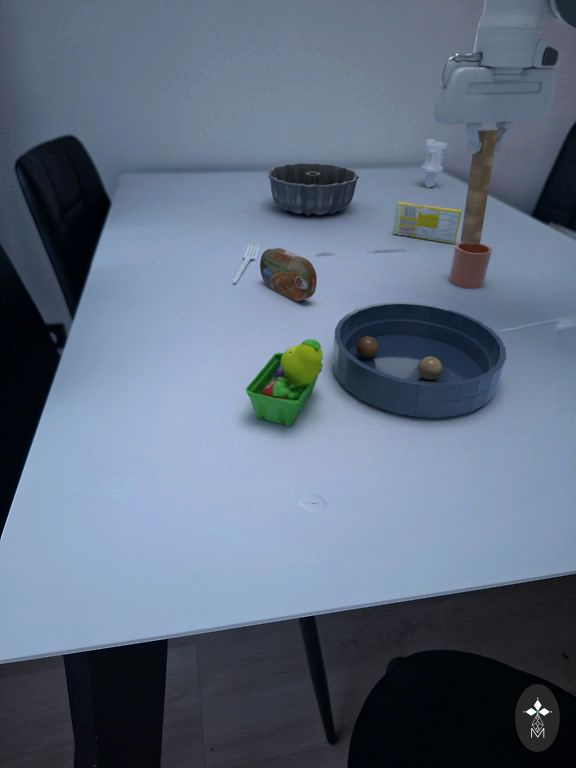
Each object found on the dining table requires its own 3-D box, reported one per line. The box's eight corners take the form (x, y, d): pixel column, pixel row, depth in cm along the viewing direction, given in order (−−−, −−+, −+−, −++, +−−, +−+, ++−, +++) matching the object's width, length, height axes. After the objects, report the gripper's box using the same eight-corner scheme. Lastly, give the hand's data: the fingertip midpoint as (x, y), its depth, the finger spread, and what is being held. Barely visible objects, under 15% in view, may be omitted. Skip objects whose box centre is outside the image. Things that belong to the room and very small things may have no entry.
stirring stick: (471, 240, 95) (487, 129, 86) (480, 243, 93) (498, 129, 84) (460, 241, 94) (475, 129, 86) (469, 244, 92) (485, 130, 84)
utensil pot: (468, 275, 118) (476, 240, 114) (490, 288, 113) (499, 251, 108) (441, 279, 116) (448, 244, 111) (462, 292, 110) (470, 255, 106)
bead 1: (364, 328, 86) (361, 342, 89) (353, 341, 84) (350, 356, 87) (384, 337, 85) (380, 352, 88) (373, 351, 83) (369, 366, 86)
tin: (258, 283, 112) (258, 244, 107) (270, 279, 114) (270, 241, 109) (306, 308, 103) (308, 266, 98) (318, 303, 104) (320, 262, 100)
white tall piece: (415, 184, 185) (422, 137, 176) (434, 184, 186) (442, 137, 178) (423, 189, 179) (431, 141, 171) (442, 189, 180) (451, 141, 172)
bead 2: (437, 372, 84) (437, 351, 82) (445, 382, 80) (445, 360, 79) (415, 375, 84) (414, 354, 82) (421, 385, 80) (421, 363, 79)
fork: (226, 284, 111) (226, 275, 110) (247, 251, 128) (247, 243, 127) (241, 285, 111) (241, 277, 110) (260, 252, 127) (260, 244, 126)
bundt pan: (329, 227, 144) (332, 189, 138) (249, 210, 155) (249, 174, 149) (370, 205, 162) (373, 170, 157) (296, 191, 174) (297, 159, 168)
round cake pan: (433, 323, 99) (439, 293, 95) (532, 399, 79) (544, 365, 76) (307, 346, 91) (308, 314, 87) (382, 437, 71) (388, 401, 68)
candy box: (456, 242, 136) (462, 209, 131) (454, 244, 135) (461, 211, 130) (394, 232, 142) (398, 200, 137) (392, 234, 140) (396, 202, 135)
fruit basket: (275, 379, 82) (276, 313, 76) (330, 392, 79) (336, 325, 73) (244, 421, 73) (242, 350, 67) (304, 437, 71) (308, 365, 64)
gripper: (459, 53, 73) (442, 160, 81) (571, 53, 80) (545, 152, 88) (433, 51, 78) (418, 152, 86) (540, 51, 85) (518, 145, 92)
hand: (483, 152), depth 87 cm, fingers closed on stirring stick, 2 cm apart
